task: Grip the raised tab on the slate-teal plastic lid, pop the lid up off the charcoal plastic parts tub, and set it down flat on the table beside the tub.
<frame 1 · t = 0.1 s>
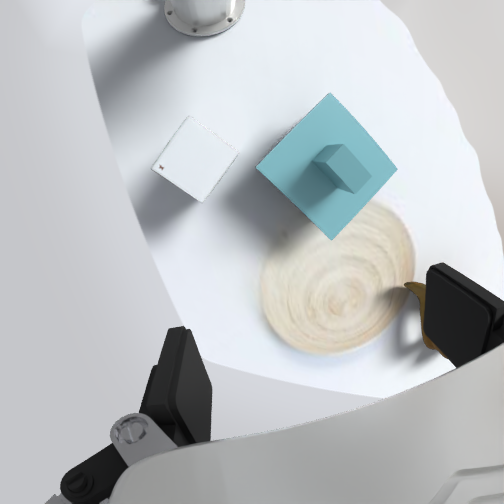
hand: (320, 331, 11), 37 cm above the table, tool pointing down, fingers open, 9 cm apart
lid: (326, 165, 40), point 6 cm above the table, touching tub
brown looped sculpture: (433, 304, 56), on the table
supplement box: (203, 158, 44), on the table
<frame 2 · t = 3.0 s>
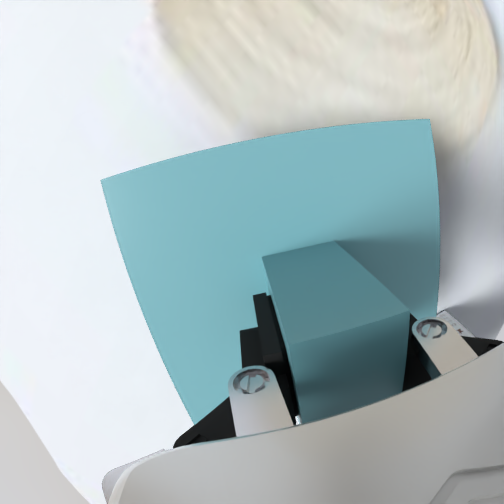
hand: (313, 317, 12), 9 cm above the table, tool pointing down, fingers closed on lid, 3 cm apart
lid: (295, 280, 15), point 6 cm above the table, touching gripper, tub
supplement box: (412, 351, 25), on the table
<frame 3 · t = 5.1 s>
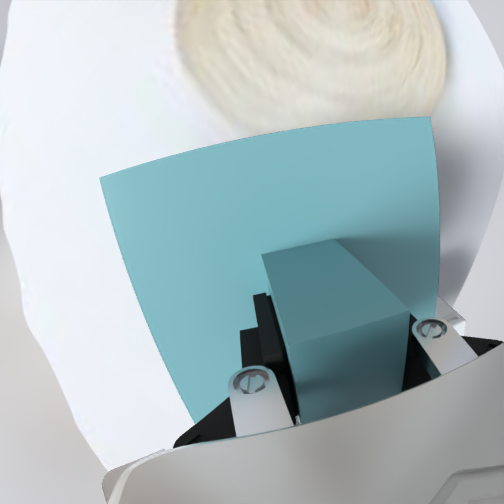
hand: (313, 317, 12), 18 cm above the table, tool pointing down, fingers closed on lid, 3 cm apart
lid: (295, 278, 15), point 15 cm above the table, touching gripper
supplement box: (377, 300, 33), on the table
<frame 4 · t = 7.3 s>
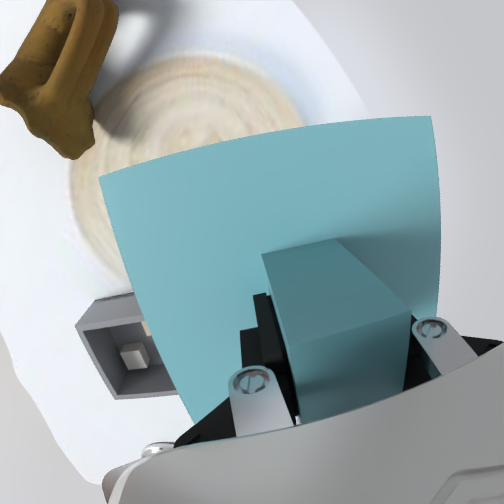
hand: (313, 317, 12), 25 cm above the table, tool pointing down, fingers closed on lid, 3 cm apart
tub: (147, 331, 39), on the table
lid: (295, 278, 15), point 21 cm above the table, touching gripper
brown looped sculpture: (81, 58, 28), on the table
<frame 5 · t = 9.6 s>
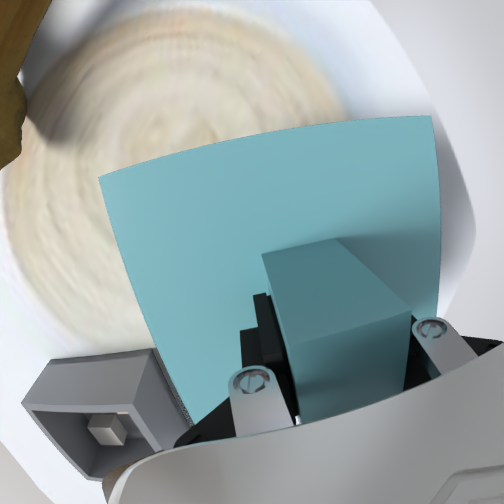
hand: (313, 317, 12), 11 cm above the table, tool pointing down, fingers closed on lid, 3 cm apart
tub: (121, 401, 27), on the table
lid: (295, 278, 15), point 8 cm above the table, touching gripper
brown looped sculpture: (22, 33, 15), on the table
when the fingers open (5 cm above the table, at t = 11.6 s): lid drops 2 cm, on the table.
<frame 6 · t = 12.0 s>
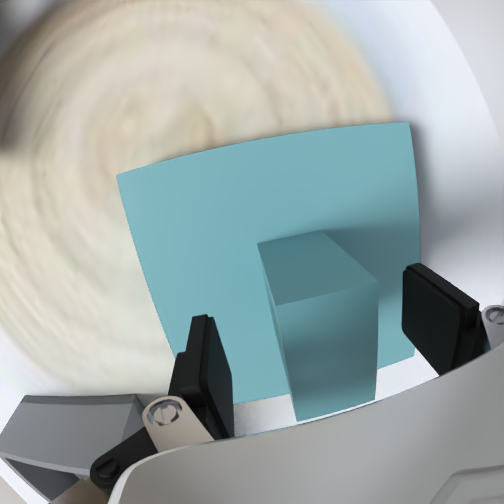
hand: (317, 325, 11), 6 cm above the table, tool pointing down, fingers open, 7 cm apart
tub: (106, 443, 21), on the table
lid: (288, 268, 17), on the table
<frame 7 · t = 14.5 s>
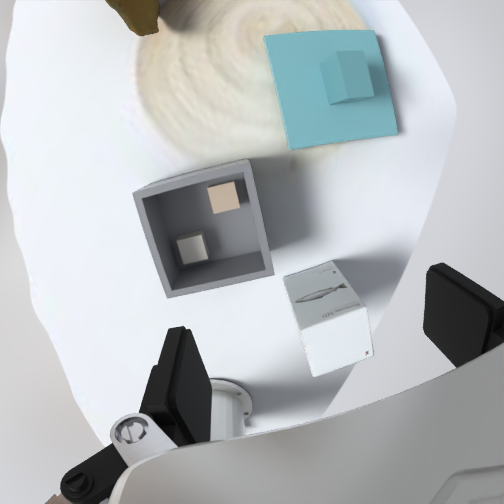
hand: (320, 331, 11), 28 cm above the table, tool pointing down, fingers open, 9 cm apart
tub: (209, 218, 37), on the table
lid: (330, 86, 33), on the table
supplement box: (312, 290, 42), on the table
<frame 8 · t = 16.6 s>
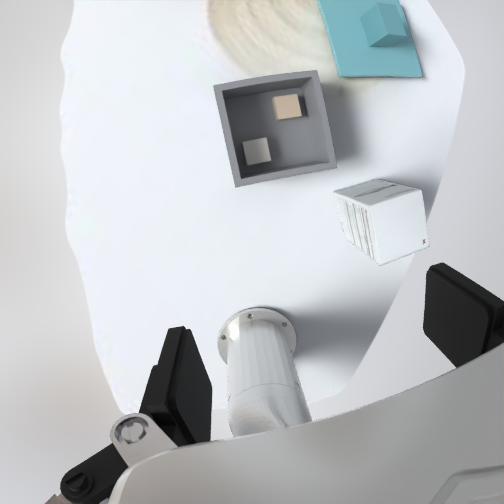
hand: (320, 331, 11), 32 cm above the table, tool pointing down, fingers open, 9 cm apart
tub: (269, 130, 39), on the table
lid: (366, 37, 35), on the table
supplement box: (359, 207, 43), on the table
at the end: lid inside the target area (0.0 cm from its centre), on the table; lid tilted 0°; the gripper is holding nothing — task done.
